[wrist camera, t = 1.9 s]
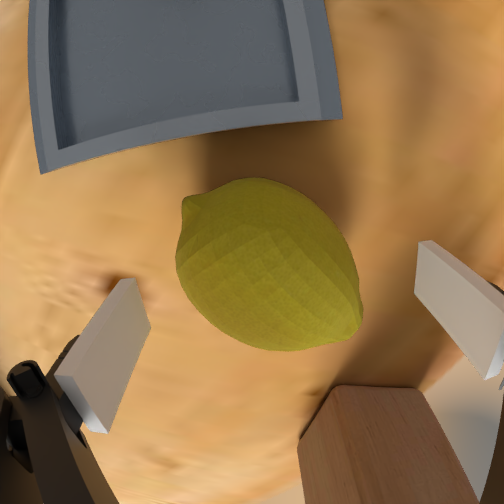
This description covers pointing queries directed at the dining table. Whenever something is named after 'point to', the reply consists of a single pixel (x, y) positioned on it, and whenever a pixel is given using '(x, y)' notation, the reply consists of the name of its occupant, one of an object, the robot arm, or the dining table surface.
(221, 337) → the dining table surface
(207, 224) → the lemon
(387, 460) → the wooden block
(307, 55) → the base
